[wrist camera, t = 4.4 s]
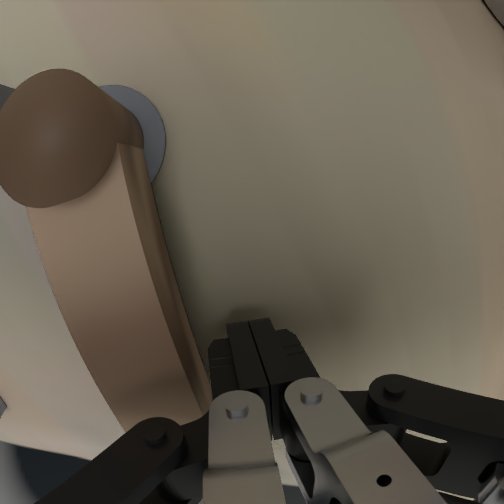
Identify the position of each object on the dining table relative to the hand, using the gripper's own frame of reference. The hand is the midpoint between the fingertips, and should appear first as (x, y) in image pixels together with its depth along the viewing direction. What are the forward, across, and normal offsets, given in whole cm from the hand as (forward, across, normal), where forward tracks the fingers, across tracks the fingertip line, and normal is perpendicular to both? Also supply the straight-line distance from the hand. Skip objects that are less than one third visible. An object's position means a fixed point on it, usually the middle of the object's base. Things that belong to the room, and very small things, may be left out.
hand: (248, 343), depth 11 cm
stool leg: (+1, +4, -3) cm, 5 cm away
